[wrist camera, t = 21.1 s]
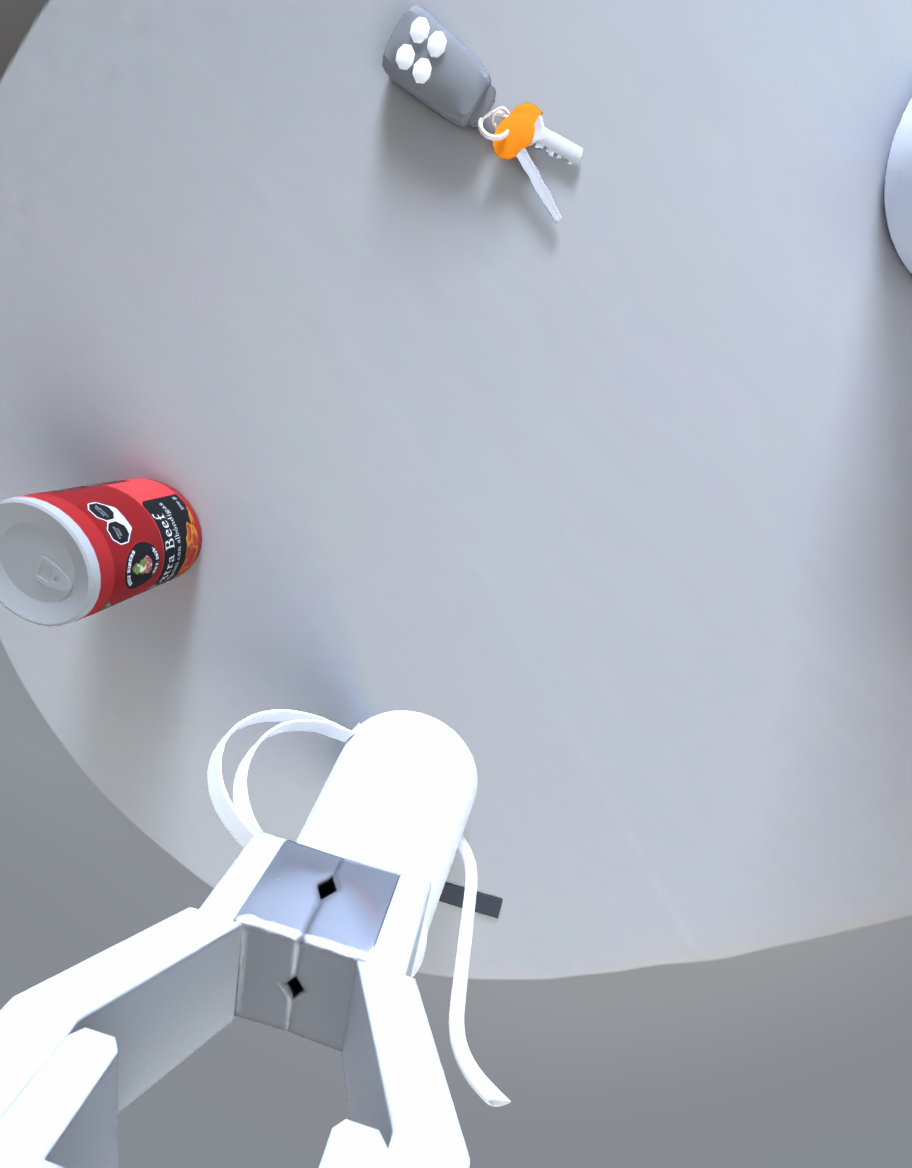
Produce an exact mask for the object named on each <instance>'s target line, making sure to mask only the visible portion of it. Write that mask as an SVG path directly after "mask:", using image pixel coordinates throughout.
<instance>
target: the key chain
mask: <svg viewBox="0 0 912 1168" xmlns="http://www.w3.org/2000/svg"><path fill="white" fill-rule="evenodd" d="M382 66H383V68H384V70H385V72H386V73H387V74H388V75H389V77H390V78H391V79H392V80H393V82H395V83H396V84H397V85H399V86H400V87H402V88H403V89H404V90H406V91H407V92H409V93H410V94H411V95H413V96H414V97H416V98H417V99H418V100H420V101H421V102H423V103H424V104H426V105H427V106H428V107H430V108H431V109H433V110H434V111H436V112H437V113H438V114H440V115H441V116H443V117H444V118H446V119H447V120H449V121H450V122H451V123H453V124H456V125H458V126H460V127H465V126H467V125H470V126H471V127H473V128H475V127H477V126H478V128H479V131H480V133H481V134H482V135H483V136H484V137H485V138H486V139H489V140H492V141H493V148H494V151H495V153H496V154H497V155H498V156H499V157H500V158H502V159H505V160H509V159H512V158H515V157H516V156H517V158H518V160H519V162H520V164H521V165H522V167H523V169H524V171H525V173H527V174H528V176H529V178H530V179H531V183H532V185H533V187H534V189H535V191H536V192H537V194H538V196H540V197H541V199H542V201H543V203H544V205H545V206H546V208H547V209H548V211H549V212H550V214H551V215H552V217H553V219H554V220H555V222H556V223H557V222H558V221H559V220H561V219H562V217H561V215H560V213H559V211H558V209H557V206H556V204H555V202H554V200H553V196H552V194H551V192H550V190H549V188H548V189H547V187H546V185H545V183H544V182H543V180H542V178H541V176H540V172H539V170H538V168H537V167H536V165H534V163H533V161H532V160H531V158H530V156H529V154H528V152H527V151H526V147H528V146H531V145H533V144H535V143H536V145H535V148H537V149H539V148H541V149H543V148H544V147H546V148H547V150H546V152H548V153H549V156H551V157H553V155H554V153H557V154H558V155H557V158H559V159H561V157H564V158H566V159H568V162H567V163H568V164H569V165H571V164H572V162H573V163H575V164H576V163H577V162H578V161H579V160H580V159H581V158H582V154H583V148H581V147H580V146H578V145H576V144H574V143H572V142H571V141H569V140H567V139H565V138H563V137H562V136H560V135H558V134H556V133H554V132H553V131H551V130H549V129H547V128H546V127H544V123H543V119H542V114H543V112H542V111H541V110H540V109H539V108H538V107H537V106H536V105H533V104H528V103H525V104H522V105H520V106H518V107H516V108H515V109H514V110H513V112H512V113H511V114H510V113H509V111H508V110H507V108H505V107H498V108H497V109H495V110H490V108H491V107H492V105H493V103H494V102H495V94H496V91H495V88H494V87H493V86H492V85H491V79H490V74H489V73H488V72H487V70H486V69H485V67H484V66H483V65H482V63H481V62H480V61H479V60H478V59H477V58H476V57H475V56H474V55H473V54H472V53H471V52H470V51H468V50H467V49H466V48H465V47H464V46H463V45H462V44H461V43H460V42H459V41H458V40H457V39H456V38H455V37H454V36H453V35H452V34H451V33H450V32H449V31H448V30H447V29H446V28H445V27H444V26H443V25H441V24H440V23H439V22H438V21H437V20H436V19H435V18H434V17H433V16H432V15H431V14H430V13H429V12H428V11H427V10H426V9H423V8H421V7H419V6H417V5H415V4H414V5H413V6H412V7H410V8H409V9H408V10H407V11H406V12H405V13H404V14H403V16H402V18H401V19H400V21H399V23H398V25H397V26H396V28H395V30H394V32H393V34H392V36H391V38H390V40H389V42H388V44H387V46H386V49H385V52H384V55H383V63H382ZM500 110H503V111H505V112H506V114H507V115H506V114H505V113H504V112H502V111H500ZM489 116H492V125H493V127H494V128H495V129H496V131H495V133H494V135H493V134H490V133H488V132H487V131H485V130H484V128H483V121H484V119H485V118H487V117H489ZM495 116H498V117H500V118H502V119H503V121H502V122H501V123H500V124H499V125H498V127H497V126H496V124H495V121H494V118H495Z"/></svg>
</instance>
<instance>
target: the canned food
mask: <svg viewBox="0 0 912 1168" xmlns="http://www.w3.org/2000/svg"><path fill="white" fill-rule="evenodd" d="M201 541H202V535H201V528H200V524H199V521H198V518H197V516H196V514H195V512H194V510H193V508H192V507H191V505H190V504H189V503H188V501H187V500H186V499H185V498H184V497H183V496H182V495H181V494H180V493H178V492H177V491H176V490H175V489H173V488H172V487H170V486H168V485H166V484H164V483H160V482H157V481H154V480H150V479H143V478H134V479H126V480H120V481H113V482H107V483H100V484H94V485H87V486H81V487H74V488H68V489H61V490H55V491H48V492H42V493H35V494H29V495H24V496H19V497H12V498H9V499H6V500H2V501H0V602H1V603H2V604H3V605H4V606H5V607H6V608H7V609H9V610H10V611H11V612H13V613H14V614H15V615H17V616H19V617H21V618H23V619H25V620H27V621H29V622H32V623H35V624H38V625H44V626H61V625H64V624H67V623H71V622H74V621H78V620H80V619H82V618H84V617H87V616H89V615H92V614H95V613H97V612H99V611H101V610H104V609H106V608H108V607H110V606H113V605H115V604H117V603H120V602H122V601H124V600H126V599H129V598H131V597H133V596H135V595H138V594H140V593H142V592H144V591H147V590H149V589H151V588H154V587H156V586H158V585H160V584H163V583H165V582H167V581H169V580H172V579H174V578H176V577H178V576H180V575H182V574H183V573H185V572H186V571H187V570H188V569H189V568H190V567H191V565H192V564H193V563H194V562H195V560H196V558H197V557H198V555H199V552H200V549H201Z"/></svg>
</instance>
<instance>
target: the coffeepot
mask: <svg viewBox="0 0 912 1168" xmlns="http://www.w3.org/2000/svg"><path fill="white" fill-rule="evenodd" d="M272 721H278V722H283V723H281V724H279V725H276V726H274V727H273V728H272V729H270V730H269V731H267V732H266V733H265V734H264V735H263V736H262V737H261V738H260V739H259V740H258V741H257V742H256V743H255V744H254V745H253V746H252V747H251V748H250V749H249V751H248V752H247V754H246V755H245V756H244V758H243V759H242V761H241V763H240V765H239V767H238V769H237V772H236V775H235V778H234V785H233V803H234V805H233V803H232V802H231V800H230V798H229V796H228V793H227V791H226V788H225V786H224V782H223V777H222V771H221V762H222V754H223V750H224V746H225V743H226V742H227V740H228V738H229V736H230V735H231V734H233V733H234V732H236V731H238V730H239V729H241V728H243V727H246V726H249V725H252V724H256V723H261V722H272ZM289 731H310V732H317V733H321V734H323V735H325V736H327V737H329V738H331V739H333V738H335V739H337V740H339V741H342V742H346V743H345V745H344V747H343V749H342V751H341V753H340V755H339V757H338V759H337V761H336V763H335V765H334V767H333V769H332V771H331V773H330V775H329V777H328V779H327V781H326V783H325V785H324V787H323V789H322V791H321V793H320V795H319V797H318V799H317V801H316V803H315V805H314V807H313V809H312V811H311V813H310V815H309V817H308V819H307V821H306V823H305V825H304V827H303V828H302V830H301V832H300V834H299V836H298V838H297V840H296V843H299V844H303V845H306V846H309V847H312V848H315V849H318V850H321V851H324V852H327V853H330V854H333V855H336V856H339V857H342V858H348V859H351V860H355V861H358V862H362V863H365V864H369V865H372V866H376V867H379V868H383V869H387V870H390V871H394V872H397V873H401V875H402V874H404V875H407V876H411V877H414V878H418V879H421V880H425V881H428V882H431V890H430V894H429V899H428V903H427V908H426V912H425V917H424V921H423V926H422V930H421V935H420V939H419V943H418V948H417V952H416V956H415V960H414V965H413V969H412V973H411V977H412V978H413V976H414V975H415V974H416V972H417V971H418V969H419V968H420V966H421V963H422V961H423V958H424V954H425V950H426V945H427V932H428V930H429V927H430V924H431V921H432V918H433V915H434V913H435V910H436V907H437V904H438V901H439V899H440V896H441V893H442V890H443V887H444V885H445V882H446V879H447V876H448V873H449V871H450V868H451V865H452V862H453V859H454V856H455V854H456V851H457V849H458V850H459V852H460V854H461V856H462V859H463V861H464V865H465V875H466V881H465V890H464V899H463V907H462V915H461V923H460V930H459V938H458V946H457V954H456V962H455V969H454V977H453V985H452V993H451V1002H450V1011H449V1034H450V1042H451V1046H452V1050H453V1054H454V1056H455V1059H456V1062H457V1064H458V1066H459V1068H460V1070H461V1072H462V1074H463V1076H464V1077H465V1079H466V1080H467V1082H468V1083H469V1084H470V1086H471V1087H472V1088H473V1089H474V1090H475V1092H476V1093H477V1094H478V1095H479V1096H480V1097H481V1098H482V1099H483V1100H484V1101H485V1102H486V1103H487V1104H488V1105H490V1106H494V1107H498V1106H503V1105H506V1104H508V1103H510V1102H511V1101H510V1100H509V1099H508V1098H507V1097H506V1096H505V1095H504V1094H503V1093H502V1092H501V1091H500V1090H499V1089H498V1088H497V1087H496V1086H495V1085H494V1084H493V1083H492V1082H491V1081H490V1080H489V1079H488V1077H486V1075H485V1074H484V1073H483V1072H482V1070H481V1069H480V1068H479V1066H478V1065H477V1063H476V1062H475V1060H474V1058H473V1056H472V1054H471V1052H470V1050H469V1047H468V1045H467V1040H466V1037H465V1036H466V1035H465V1027H464V1012H465V1001H466V990H467V981H468V971H469V962H470V952H471V943H472V933H473V923H474V914H475V904H476V894H477V881H478V877H477V866H476V861H475V858H474V855H473V852H472V850H471V848H470V846H469V845H468V843H467V841H466V840H465V839H464V837H463V836H462V834H463V831H464V828H465V826H466V823H467V820H468V817H469V814H470V811H471V809H472V806H473V803H474V800H475V797H476V793H477V784H478V777H477V770H476V765H475V762H474V759H473V757H472V754H471V752H470V750H469V749H468V747H467V745H466V744H465V743H464V741H463V740H462V739H461V738H460V736H459V735H458V734H457V733H456V732H455V731H453V730H452V729H451V728H450V727H449V726H447V725H446V724H444V723H443V722H441V721H439V720H437V719H435V718H433V717H431V716H428V715H425V714H422V713H418V712H413V711H402V710H401V711H390V712H385V713H381V714H378V715H376V716H373V717H371V718H369V719H368V720H366V721H364V722H363V723H362V724H360V723H359V724H358V725H357V726H356V727H355V728H353V729H352V730H349V729H347V728H345V727H343V726H341V725H339V724H337V723H334V722H332V721H330V720H328V719H325V718H323V717H320V716H317V715H314V714H310V713H306V712H302V711H296V710H287V709H274V710H268V711H262V712H259V713H256V714H253V715H250V716H248V717H246V718H245V719H243V720H241V721H240V722H238V723H237V724H236V725H235V726H234V727H233V728H232V729H231V730H230V731H229V732H228V733H227V734H226V735H225V736H224V737H223V738H222V739H221V740H220V741H219V742H218V744H217V746H216V748H215V749H214V751H213V753H212V755H211V758H210V762H209V766H208V780H207V782H208V788H209V794H210V798H211V800H212V803H213V806H214V809H215V811H216V812H217V814H218V816H219V818H220V820H221V821H222V823H223V824H224V825H225V827H226V828H227V829H228V831H229V832H230V833H231V835H232V836H233V837H234V838H235V839H236V840H237V841H238V842H239V844H240V845H242V846H243V847H245V846H246V845H247V843H248V842H249V841H250V839H251V838H252V837H253V836H255V835H256V834H257V833H259V832H260V831H261V832H262V830H261V829H260V827H259V825H258V823H257V821H256V819H255V817H254V815H253V812H252V809H251V806H250V803H249V798H248V793H247V772H248V767H249V764H250V760H251V758H252V756H253V754H254V752H255V750H256V748H257V747H258V746H259V744H260V743H261V742H262V741H264V740H265V739H266V738H268V737H271V736H273V735H275V734H278V733H282V732H289Z"/></svg>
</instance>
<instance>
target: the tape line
mask: <svg viewBox="0 0 912 1168" xmlns="http://www.w3.org/2000/svg"><path fill="white" fill-rule="evenodd" d="M464 890H465V888H462V887H458V886H455V885H452V884H448V883H445V885H444V887H443V890H442V893H441V896H440V899H439V901H441V902H445V903H448V904H451V905H455V906H458V907H461V908H462V907H463V899H464ZM501 904H502V899H499V898H496V897H492V896H489V895H486V894H482V893H479V892H477V894H476V904H475V912H478V913H481V914H485V915H488V916H491V917H495V918H498V915H499V911H500V908H501Z"/></svg>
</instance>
